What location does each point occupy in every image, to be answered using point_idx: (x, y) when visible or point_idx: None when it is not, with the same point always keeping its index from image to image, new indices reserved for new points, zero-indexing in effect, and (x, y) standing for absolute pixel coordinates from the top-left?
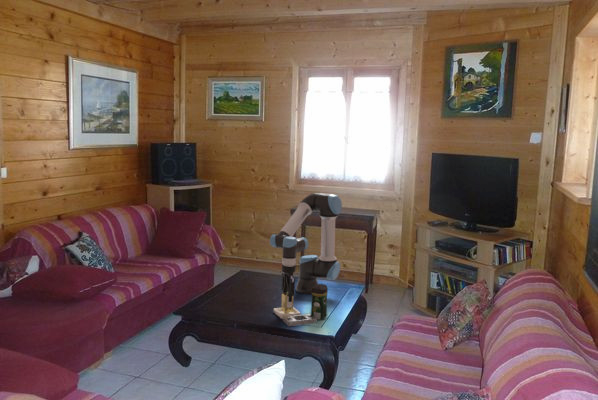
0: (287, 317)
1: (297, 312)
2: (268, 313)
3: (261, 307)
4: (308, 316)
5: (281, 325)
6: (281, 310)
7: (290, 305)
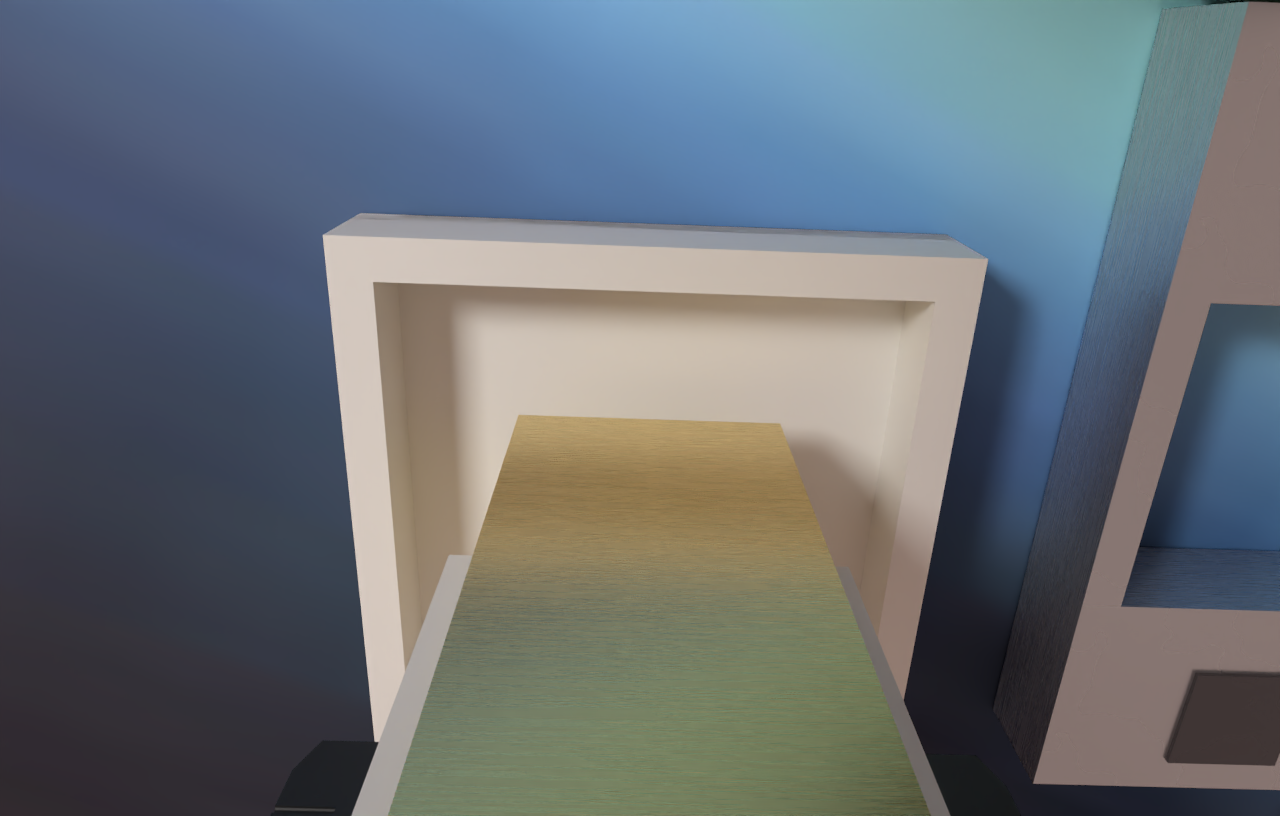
0: (1123, 725)
1: (828, 291)
2: None
3: (43, 790)
4: None
5: (1174, 809)
6: (415, 548)
7: None
